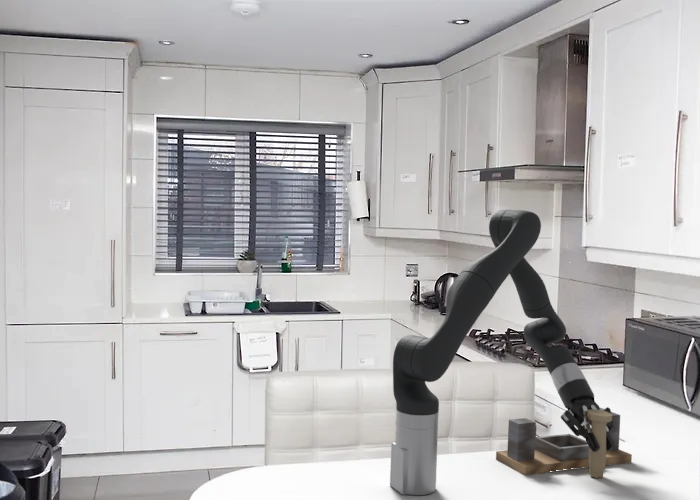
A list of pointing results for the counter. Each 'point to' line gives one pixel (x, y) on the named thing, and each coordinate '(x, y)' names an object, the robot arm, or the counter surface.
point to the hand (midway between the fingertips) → (603, 449)
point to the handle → (599, 431)
